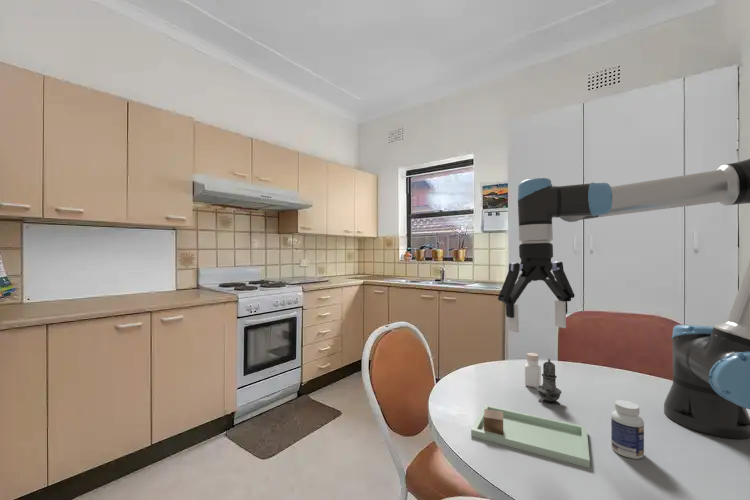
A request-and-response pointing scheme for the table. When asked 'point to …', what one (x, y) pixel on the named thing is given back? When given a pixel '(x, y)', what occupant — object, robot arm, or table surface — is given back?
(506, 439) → the tray
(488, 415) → the walnut block
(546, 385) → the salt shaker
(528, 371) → the salt shaker
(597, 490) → the table surface
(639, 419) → the pill bottle
